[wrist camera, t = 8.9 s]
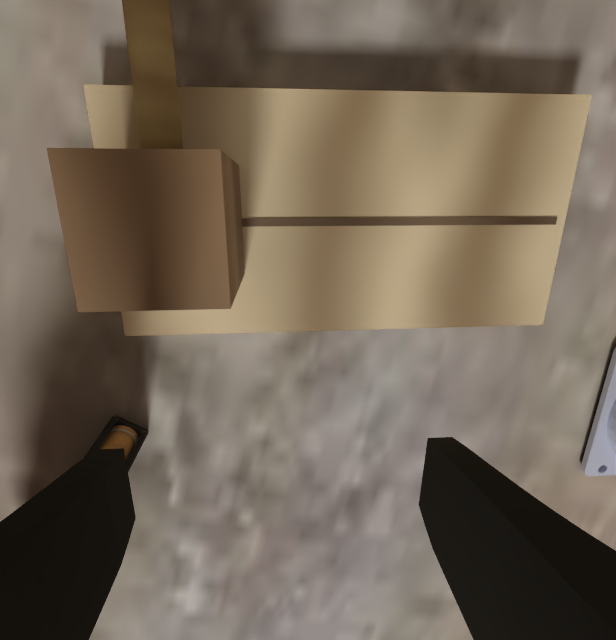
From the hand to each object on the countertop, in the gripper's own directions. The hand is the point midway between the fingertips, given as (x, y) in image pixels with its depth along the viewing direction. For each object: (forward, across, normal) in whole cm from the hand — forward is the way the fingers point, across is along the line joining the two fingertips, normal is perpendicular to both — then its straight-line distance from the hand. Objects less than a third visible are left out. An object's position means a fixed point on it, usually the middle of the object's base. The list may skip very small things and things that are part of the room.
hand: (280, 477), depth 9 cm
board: (+9, -3, -5) cm, 11 cm away
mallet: (+8, +3, -8) cm, 12 cm away
